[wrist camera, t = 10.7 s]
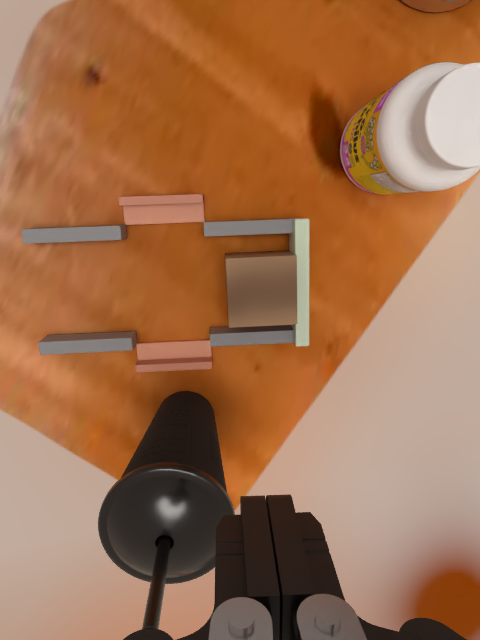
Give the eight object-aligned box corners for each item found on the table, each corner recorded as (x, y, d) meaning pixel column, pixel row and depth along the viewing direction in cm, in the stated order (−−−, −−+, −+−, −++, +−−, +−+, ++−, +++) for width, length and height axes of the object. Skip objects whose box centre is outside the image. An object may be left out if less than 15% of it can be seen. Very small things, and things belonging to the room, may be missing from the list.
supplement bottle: (363, 84, 33) (451, 8, 20) (440, 125, 33) (571, 76, 21) (321, 172, 34) (381, 152, 21) (397, 209, 35) (496, 210, 22)
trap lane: (28, 200, 33) (16, 200, 32) (288, 191, 34) (292, 190, 32) (53, 370, 37) (43, 379, 35) (290, 358, 37) (294, 366, 35)
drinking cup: (153, 364, 37) (78, 537, 18) (241, 388, 38) (263, 578, 18) (130, 445, 39) (40, 684, 19) (216, 466, 39) (211, 715, 20)
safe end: (288, 218, 35) (295, 219, 32) (301, 218, 35) (309, 218, 32) (289, 335, 37) (296, 346, 34) (302, 335, 37) (309, 345, 34)
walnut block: (225, 253, 35) (225, 258, 31) (288, 250, 35) (296, 255, 31) (227, 315, 36) (228, 327, 33) (289, 312, 37) (297, 324, 33)
